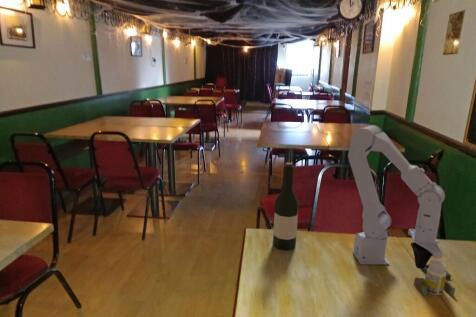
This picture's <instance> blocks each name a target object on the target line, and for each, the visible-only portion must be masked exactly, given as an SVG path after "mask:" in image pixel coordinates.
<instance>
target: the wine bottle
mask: <svg viewBox="0 0 476 317" xmlns="http://www.w3.org/2000/svg"><path fill="white" fill-rule="evenodd" d="M294 172H295V165H294V163H292V162H285V164H284V166H283V178H282V189H281V191H280V193H279V194H278V196H277V197H276V199H275V200H274V213H273V214H274V217H273V218H274V219H273V232H272V233H273V236H272V247H274V248H276V249H277V250H279V251H286V252H287V251H292V250H295V249H296V245H297V233H298V231H297V230H298V217H299V204H300V202H299V201H300V200H299V198H298V197H297V195H296V193H295V191H294V190H293V188H294V185H293V184H294Z"/></svg>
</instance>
